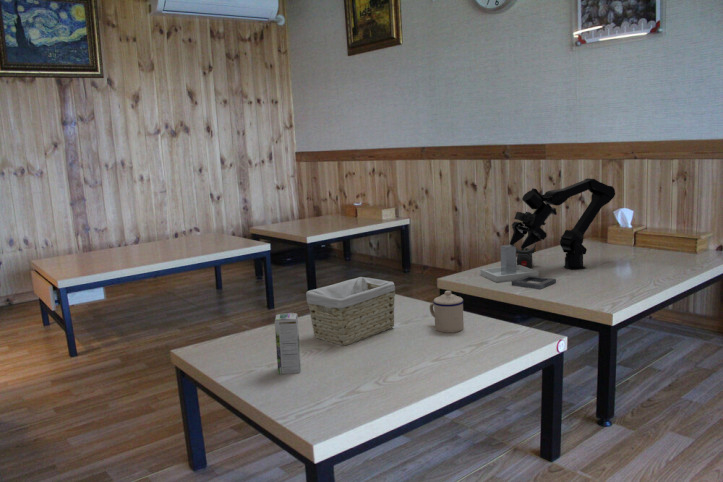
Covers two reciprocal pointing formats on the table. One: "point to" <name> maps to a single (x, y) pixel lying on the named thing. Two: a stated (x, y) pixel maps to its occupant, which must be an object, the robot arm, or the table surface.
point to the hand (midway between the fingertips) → (516, 246)
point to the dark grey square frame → (524, 283)
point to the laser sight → (525, 256)
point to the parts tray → (496, 275)
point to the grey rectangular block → (508, 259)
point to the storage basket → (351, 309)
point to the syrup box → (287, 343)
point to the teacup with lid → (448, 313)
